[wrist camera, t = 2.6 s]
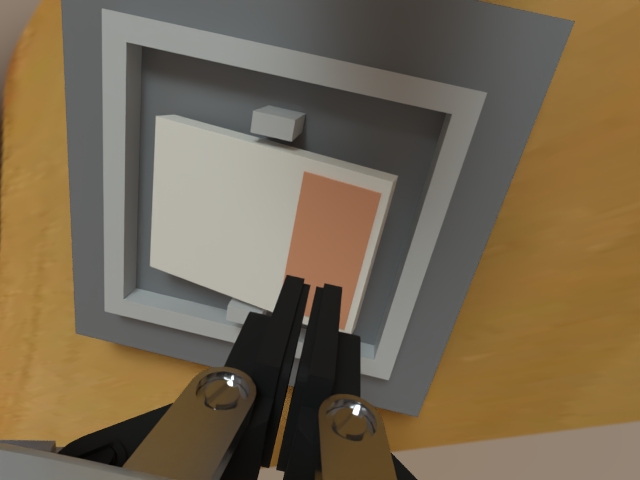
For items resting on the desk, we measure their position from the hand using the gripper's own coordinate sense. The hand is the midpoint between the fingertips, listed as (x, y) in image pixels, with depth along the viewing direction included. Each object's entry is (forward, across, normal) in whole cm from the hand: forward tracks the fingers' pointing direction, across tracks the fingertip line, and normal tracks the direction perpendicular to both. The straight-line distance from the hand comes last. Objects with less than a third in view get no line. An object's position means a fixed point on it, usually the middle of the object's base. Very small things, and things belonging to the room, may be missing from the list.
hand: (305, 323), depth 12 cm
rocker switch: (+6, +3, 0) cm, 7 cm away
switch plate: (+11, +3, 0) cm, 11 cm away
